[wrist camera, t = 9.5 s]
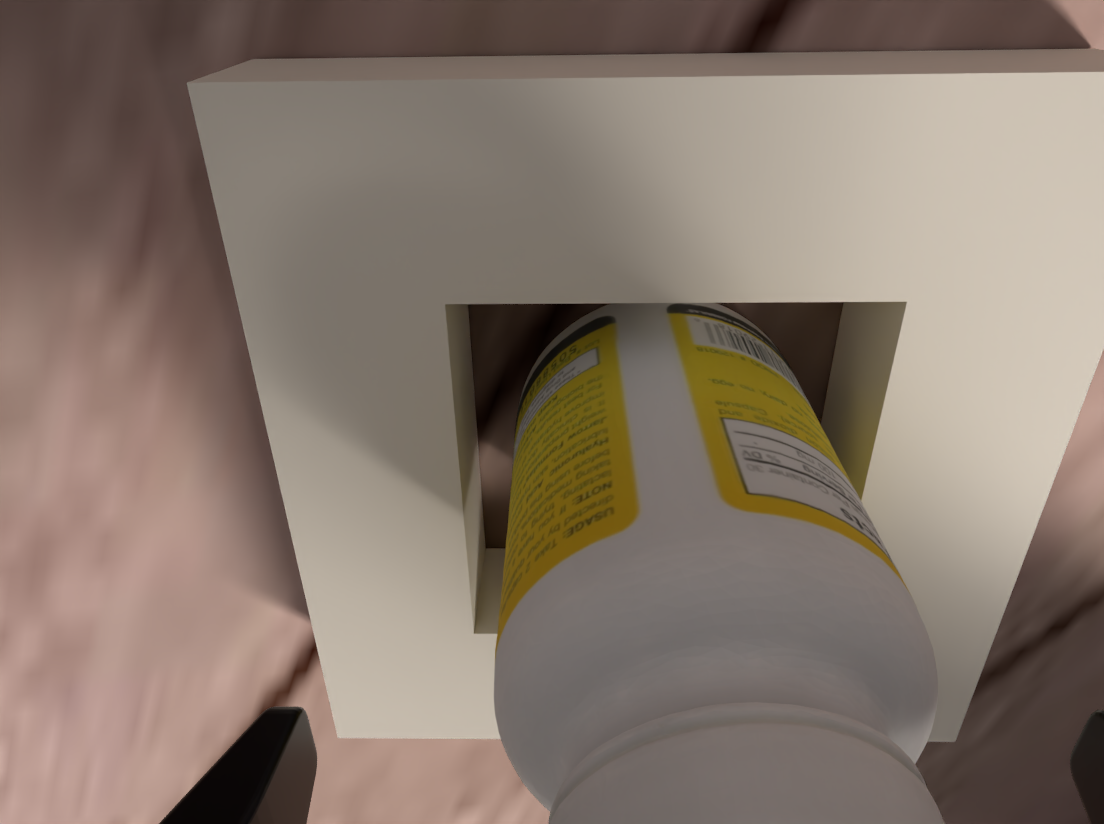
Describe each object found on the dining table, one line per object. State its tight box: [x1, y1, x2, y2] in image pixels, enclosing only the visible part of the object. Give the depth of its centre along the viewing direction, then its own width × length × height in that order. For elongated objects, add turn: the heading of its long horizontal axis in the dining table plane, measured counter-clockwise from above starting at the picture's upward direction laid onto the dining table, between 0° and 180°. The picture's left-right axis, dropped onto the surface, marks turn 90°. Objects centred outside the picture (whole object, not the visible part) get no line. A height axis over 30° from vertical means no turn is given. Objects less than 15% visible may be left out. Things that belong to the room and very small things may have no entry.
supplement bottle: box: [494, 303, 945, 824], centre depth 11 cm, size 5×5×10 cm
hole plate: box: [187, 49, 1104, 742], centre depth 14 cm, size 13×13×2 cm
